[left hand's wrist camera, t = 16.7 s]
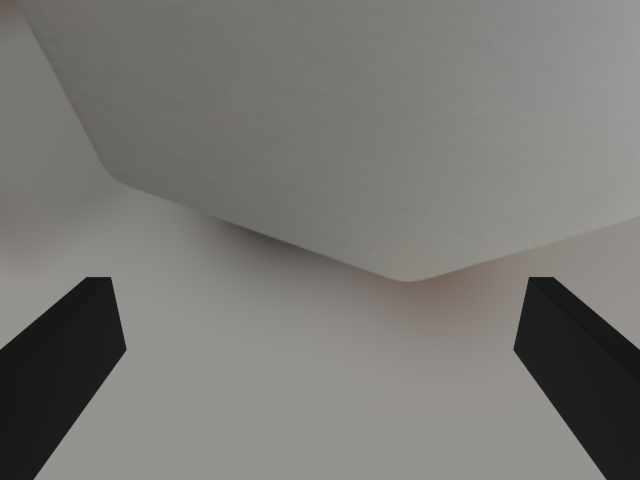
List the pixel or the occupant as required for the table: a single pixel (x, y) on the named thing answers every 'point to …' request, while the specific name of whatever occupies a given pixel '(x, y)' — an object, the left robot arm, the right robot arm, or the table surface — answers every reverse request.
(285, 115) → the table surface
